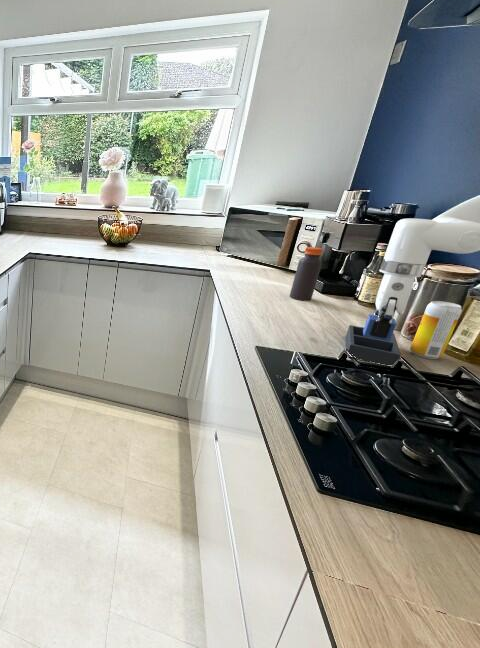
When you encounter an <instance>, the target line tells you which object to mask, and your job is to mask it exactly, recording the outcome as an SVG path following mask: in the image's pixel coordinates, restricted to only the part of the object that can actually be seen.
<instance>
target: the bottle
mask: <svg viewBox="0 0 480 648" xmlns="http://www.w3.org/2000/svg"><path fill="white" fill-rule="evenodd" d="M322 253H323V248H322V247H317V246H316V247H315V246H307V247H305V250H304V256H303V257H302V258H300V259H299V260H298V262H297V268H296V270H295V274H294V277H293V282H292V285H291V288H290V293H289V297H290V298H291V297H292V298H291V299H293V298H295V299H294V300H297V299H299V300H298V301H304V300H309V301H311V300H312V299H313V295H314V292H315V289H316V285H317V281H318V277H319V275H320V271H321V268H322V265H323V262H322V260H321V259H320V257H321V255H322Z"/></svg>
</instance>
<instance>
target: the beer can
mask: <svg viewBox="0 0 480 648" xmlns="http://www.w3.org/2000/svg"><path fill="white" fill-rule="evenodd" d="M462 312H463V309H462V306H461V305H460V304H457V303H453V302H449V301H442V300H432V301H430V303H428V304H427V305H426V308H425V310H424V313H423V315H422V317H421V320H420V322H419V325H418V328H417V330H416V333H415V336H414V338H413V339H412V342H411V345H410V346H409V347H410V348H409V350H410V351H411V354H413V355H415V356H418V357H420V358H424V359H430V360H438V359H439V358H442V357H443V355H444V353H445V351H446V349H447V346H448V344H449V342H450V339H451V338H452V335H453V332H454V330H455V328H456V326H457V324H458V321H459V319H460V318H461V314H462Z"/></svg>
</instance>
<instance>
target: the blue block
mask: <svg viewBox="0 0 480 648" xmlns="http://www.w3.org/2000/svg"><path fill="white" fill-rule="evenodd" d="M377 317H378V316H377V315H374V314H368V315H367V318H366V321H365V323H364V327H363V328H364V329H363V335H364V337H369V338H375V339H380V340H385V341H390V339H391V337H392V334H393V333H394V331H395V329H396V326H397V322H396V318H393V320H392V323H391V324H392V325H391V328H390V330H389V333H388V335H387V338H381V337H376V336H371V335H370V332H371V329H372V326H373V324H374V321H376V320H377Z"/></svg>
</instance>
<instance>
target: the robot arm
mask: <svg viewBox="0 0 480 648" xmlns="http://www.w3.org/2000/svg"><path fill="white" fill-rule="evenodd" d="M432 251H439V252H444V253H445V252H446V253H452V254H459V255H460V254H461V255H463V254H472V253H476V252H479V251H480V194H479V195H476V196H475V197H472V198H470V199H467V200H465V201H463V202H460V203H459V204H457V205H455V206H453V207H451V208H449V209H447V210H446V211H445V212H443V213H441V214H439V215H437V216H436V217H434V218H432V219H427V218H415V217H414V218H413V217H412V218H411V217H409V218H402V219H401V218H400V220H398V221H397V222H396V223H395V226H394V228H393V231H392V233H391V236H390V239H389V242H388V245H387V247H386V250H385V252H384V255H383V259H382V260H381V261H382V262H381V264H380V267H379V270H378V272H380V273H382V274H383V276H382V279H381V282H380V285H379V288H378V291H377V294H376V297H375V301H374V302H375V308H376V309H375V311H374V314H373V315H376V316H378V317H377V320H376V321H374V324H373V326H372V329H371V332H370V335H371V336H376V337H381V338H387V335H388V333H389V330H390V328H391V325H392V324H391V323H392V320H393V319H394V317H395V314H396V313H397V314H398V316H400V315H404V314H405V311H406V309H407V305H408V302H409V299H410V296H411V293H412V289H413V287H414V286H413V285H414V283H415V279H416V278H420V277H422V275H423V272H424V269H425V267H426V264H427V262H428V259H429V258H430V254H431V252H432Z"/></svg>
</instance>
